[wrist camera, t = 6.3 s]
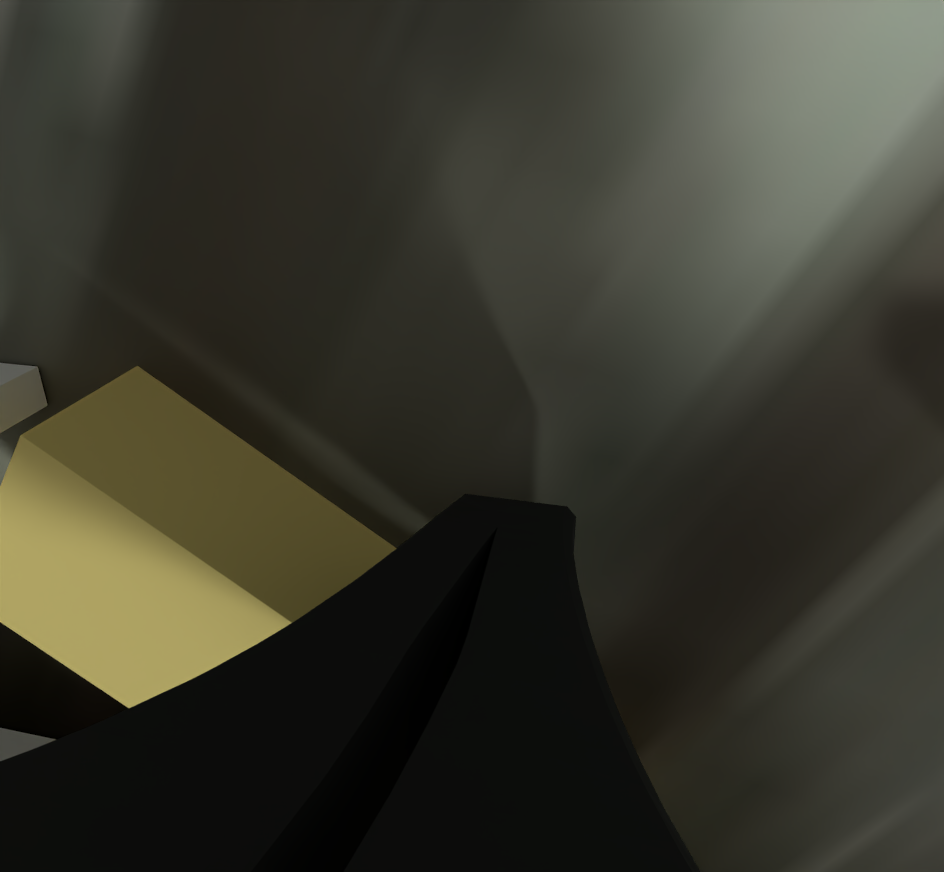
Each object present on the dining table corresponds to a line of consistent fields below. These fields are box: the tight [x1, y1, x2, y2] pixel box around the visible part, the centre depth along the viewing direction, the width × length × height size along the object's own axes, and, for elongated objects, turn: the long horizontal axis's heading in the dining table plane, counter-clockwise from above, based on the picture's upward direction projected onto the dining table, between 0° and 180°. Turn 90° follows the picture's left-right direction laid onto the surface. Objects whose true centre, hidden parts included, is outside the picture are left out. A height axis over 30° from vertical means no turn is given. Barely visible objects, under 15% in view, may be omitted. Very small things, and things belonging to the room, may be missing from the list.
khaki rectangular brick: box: [0, 366, 397, 708], centre depth 11 cm, size 8×3×2 cm, turn 56°
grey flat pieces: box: [0, 363, 56, 761], centre depth 11 cm, size 18×8×3 cm, turn 90°
